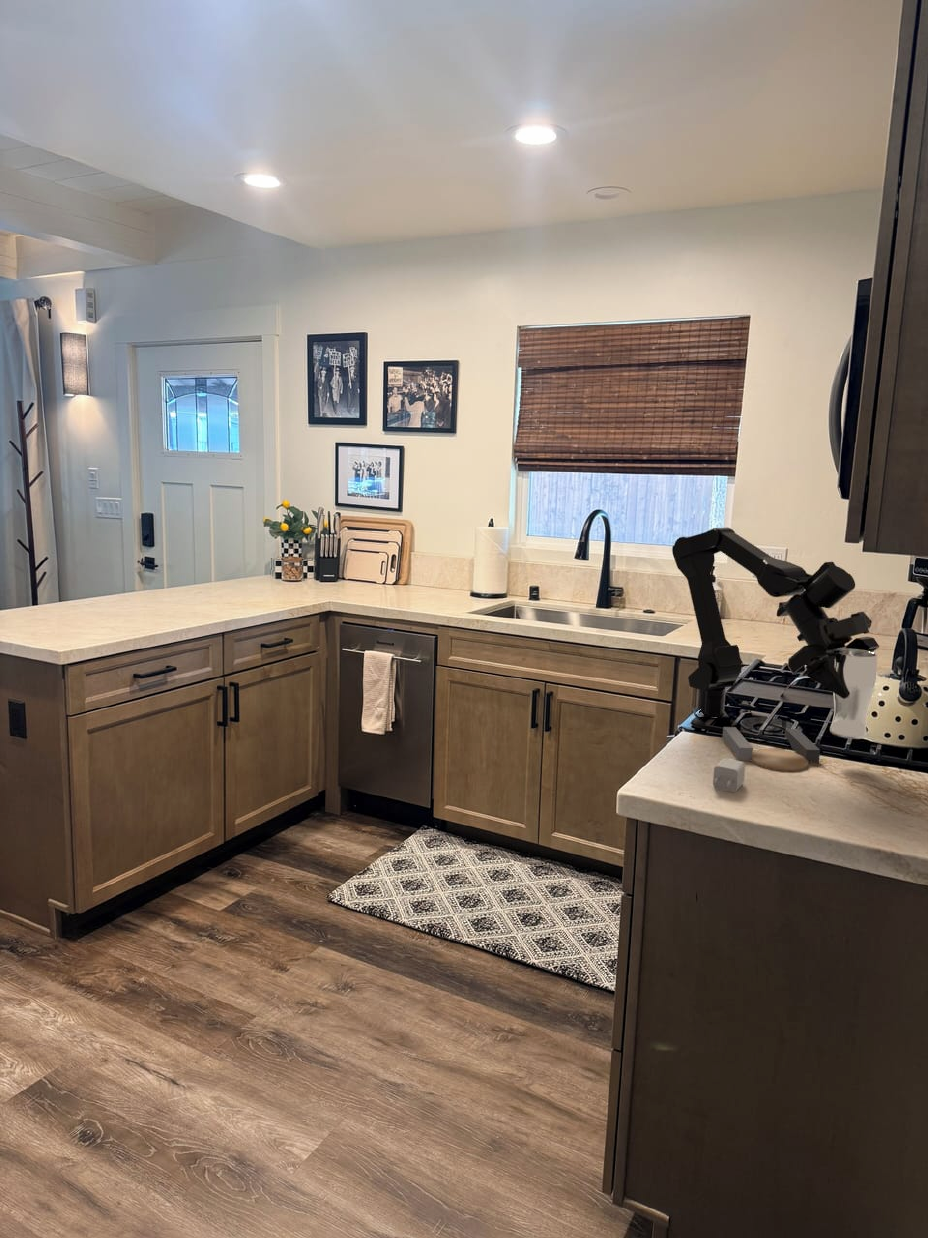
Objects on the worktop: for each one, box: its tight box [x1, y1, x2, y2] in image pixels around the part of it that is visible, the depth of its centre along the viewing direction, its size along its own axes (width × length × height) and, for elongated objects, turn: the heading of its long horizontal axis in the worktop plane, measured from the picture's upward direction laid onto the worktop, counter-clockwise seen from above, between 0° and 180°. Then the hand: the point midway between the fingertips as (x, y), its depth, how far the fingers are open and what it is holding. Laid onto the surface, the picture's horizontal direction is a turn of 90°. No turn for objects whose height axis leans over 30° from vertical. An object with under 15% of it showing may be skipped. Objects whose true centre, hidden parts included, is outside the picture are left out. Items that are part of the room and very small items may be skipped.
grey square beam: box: [721, 726, 754, 762], centre depth 158 cm, size 12×2×2 cm, turn 177°
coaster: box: [751, 748, 809, 772], centre depth 152 cm, size 10×10×1 cm
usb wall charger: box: [712, 757, 746, 793], centre depth 139 cm, size 4×7×4 cm, turn 148°
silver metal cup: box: [829, 649, 878, 740], centre depth 149 cm, size 7×7×15 cm
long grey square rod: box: [784, 728, 821, 763], centre depth 157 cm, size 12×2×2 cm, turn 177°
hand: (859, 695), depth 148 cm, fingers closed on silver metal cup, 7 cm apart
